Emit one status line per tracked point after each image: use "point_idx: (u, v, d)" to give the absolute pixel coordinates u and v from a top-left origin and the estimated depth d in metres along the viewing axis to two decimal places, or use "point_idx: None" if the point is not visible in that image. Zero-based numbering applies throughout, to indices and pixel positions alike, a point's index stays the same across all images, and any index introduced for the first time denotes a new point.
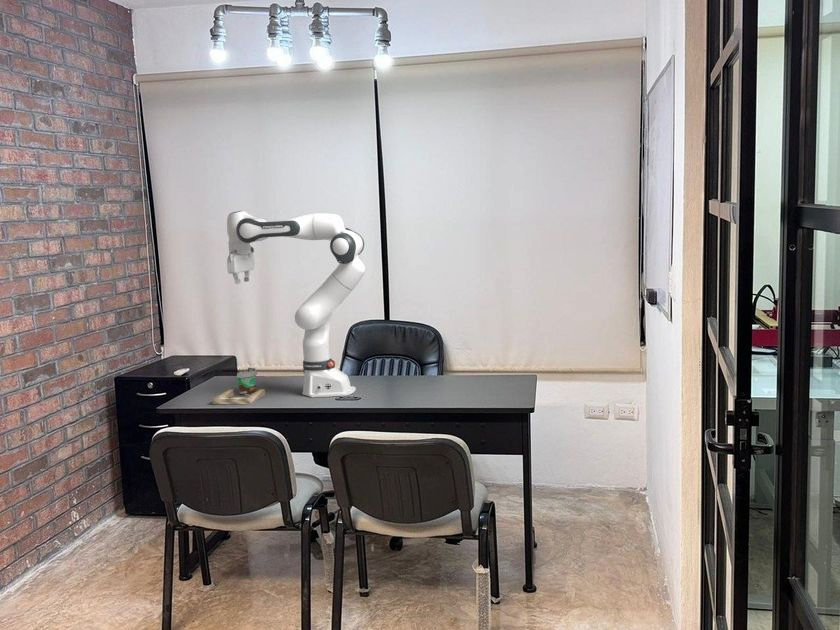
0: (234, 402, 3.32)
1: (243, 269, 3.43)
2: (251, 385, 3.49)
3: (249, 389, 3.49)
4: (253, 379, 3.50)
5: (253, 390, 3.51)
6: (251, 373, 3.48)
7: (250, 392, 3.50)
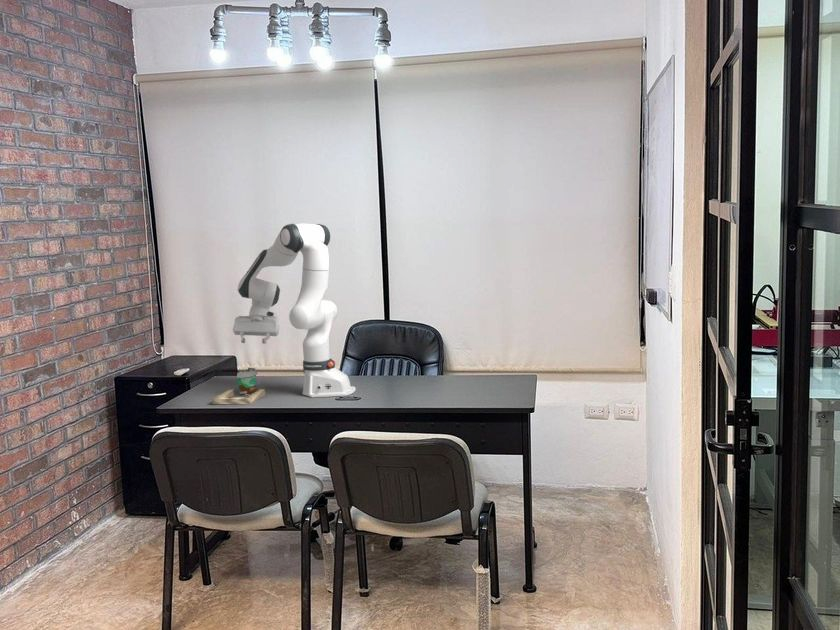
0: (234, 402, 3.32)
1: (251, 329, 3.62)
2: (251, 385, 3.49)
3: (249, 389, 3.49)
4: (253, 379, 3.50)
5: (253, 390, 3.51)
6: (251, 373, 3.48)
7: (250, 392, 3.50)
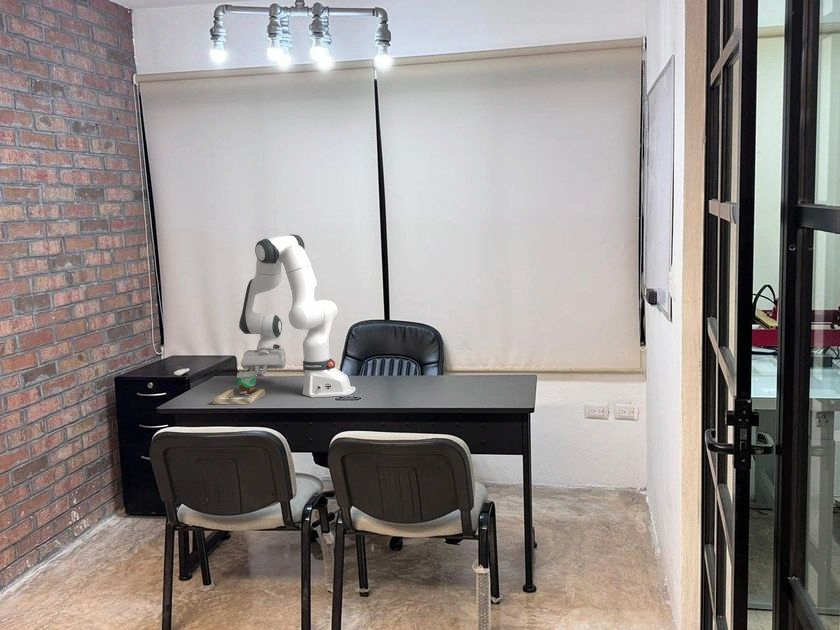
0: (234, 402, 3.32)
1: (257, 362, 3.65)
2: (251, 385, 3.49)
3: (249, 389, 3.49)
4: (253, 379, 3.50)
5: (253, 390, 3.51)
6: (251, 373, 3.48)
7: (250, 392, 3.50)
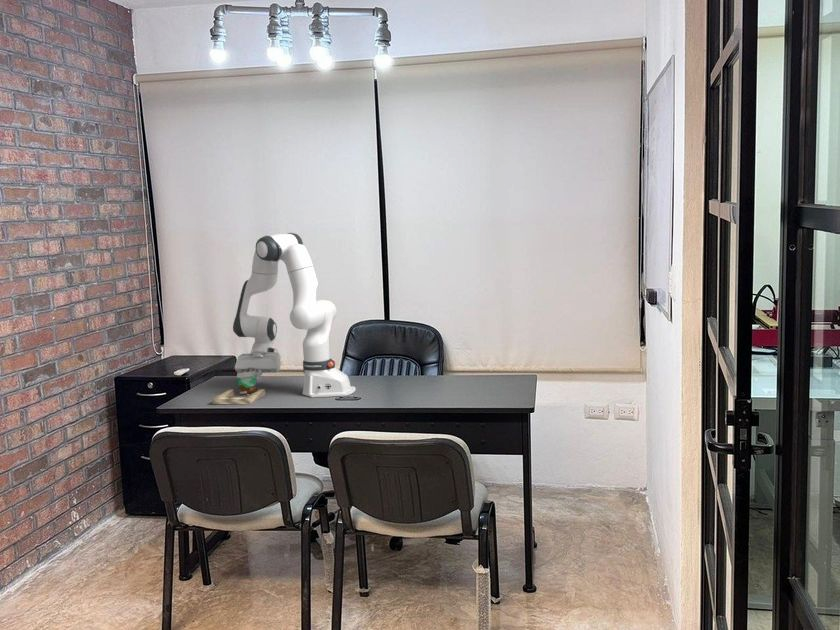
0: (234, 402, 3.32)
1: (251, 366, 3.58)
2: (251, 385, 3.49)
3: (249, 389, 3.49)
4: (253, 379, 3.50)
5: (253, 390, 3.51)
6: (251, 373, 3.48)
7: (250, 392, 3.49)
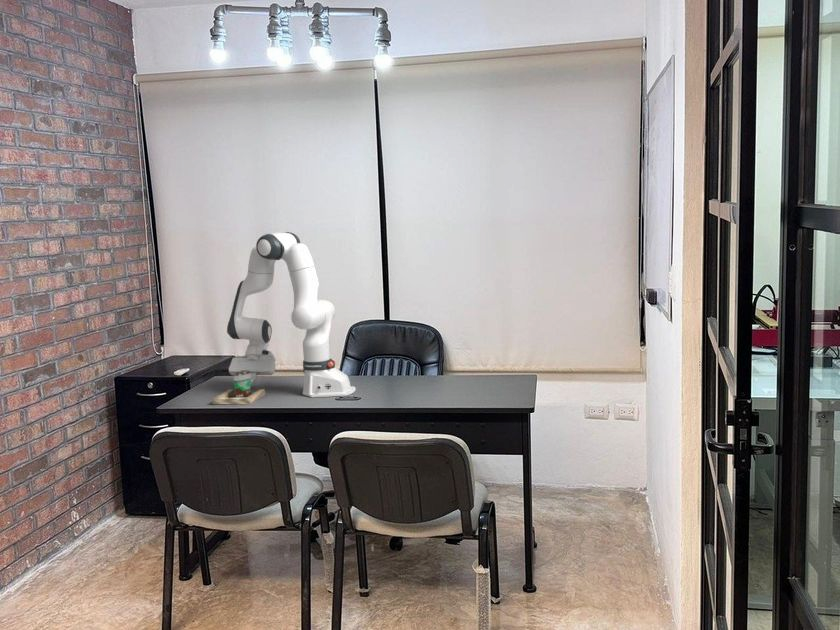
0: (234, 402, 3.32)
1: (246, 369, 3.52)
2: (247, 388, 3.44)
3: (245, 392, 3.43)
4: (249, 382, 3.45)
5: (249, 393, 3.45)
6: (247, 376, 3.43)
7: (246, 395, 3.44)
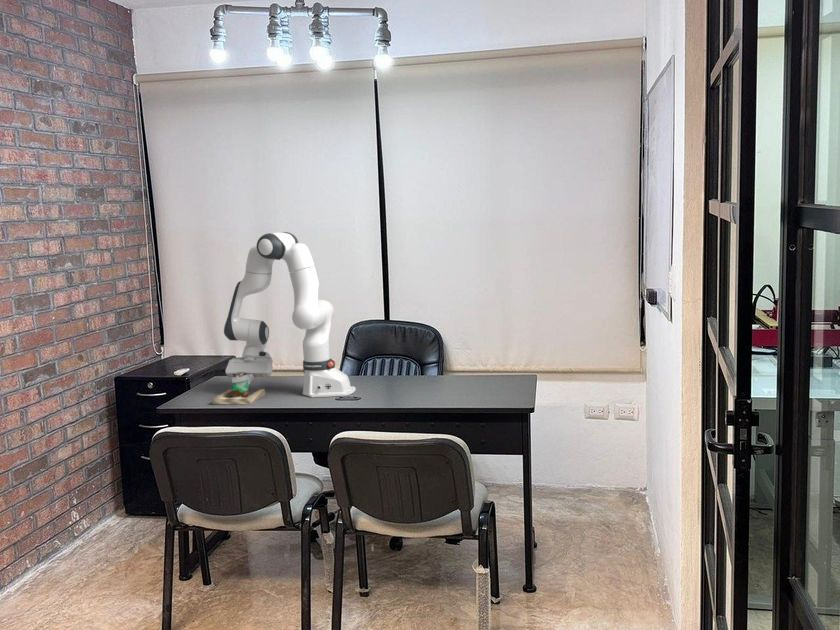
0: (234, 402, 3.32)
1: (243, 370, 3.49)
2: (245, 389, 3.41)
3: (243, 394, 3.40)
4: (247, 383, 3.42)
5: (247, 394, 3.43)
6: (245, 377, 3.40)
7: (244, 397, 3.41)
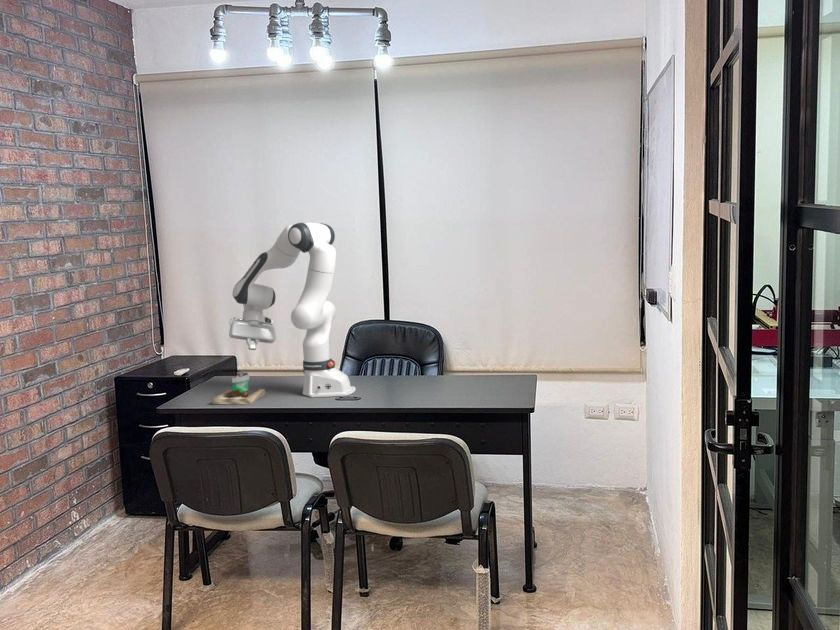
0: (234, 402, 3.32)
1: (250, 335, 3.55)
2: (245, 390, 3.41)
3: (243, 394, 3.41)
4: (247, 383, 3.42)
5: (247, 395, 3.43)
6: (245, 377, 3.40)
7: (244, 397, 3.41)
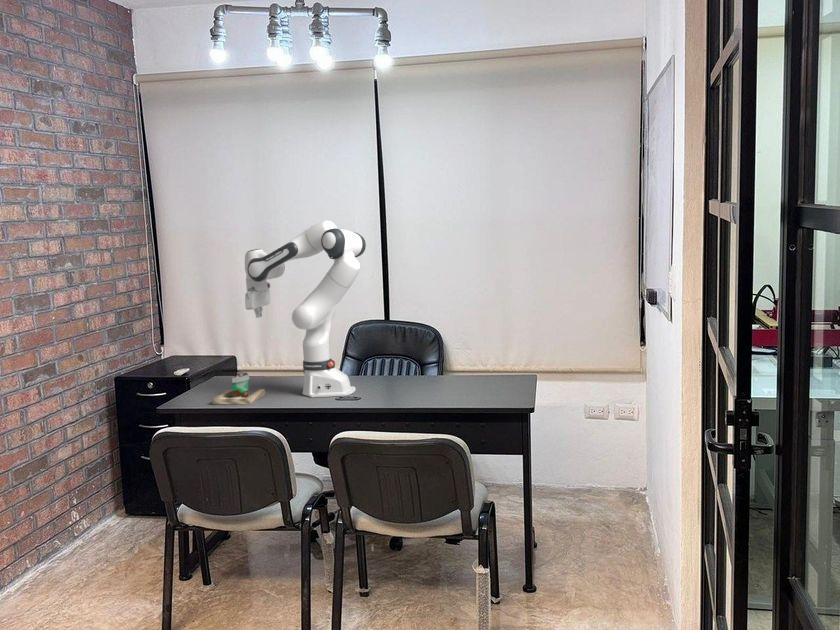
0: (234, 402, 3.32)
1: (260, 304, 3.58)
2: (245, 390, 3.41)
3: (243, 394, 3.41)
4: (247, 383, 3.42)
5: (247, 395, 3.43)
6: (245, 377, 3.40)
7: (244, 397, 3.41)
